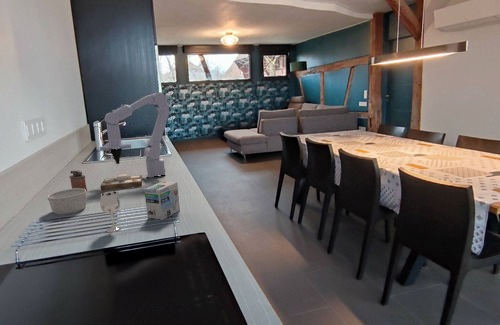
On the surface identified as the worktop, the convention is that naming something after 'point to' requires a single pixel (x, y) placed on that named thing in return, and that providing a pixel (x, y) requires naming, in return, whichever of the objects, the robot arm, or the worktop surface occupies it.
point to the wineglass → (110, 206)
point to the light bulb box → (162, 200)
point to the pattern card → (121, 182)
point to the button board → (121, 184)
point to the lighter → (77, 180)
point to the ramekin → (68, 201)
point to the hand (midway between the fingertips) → (117, 163)
